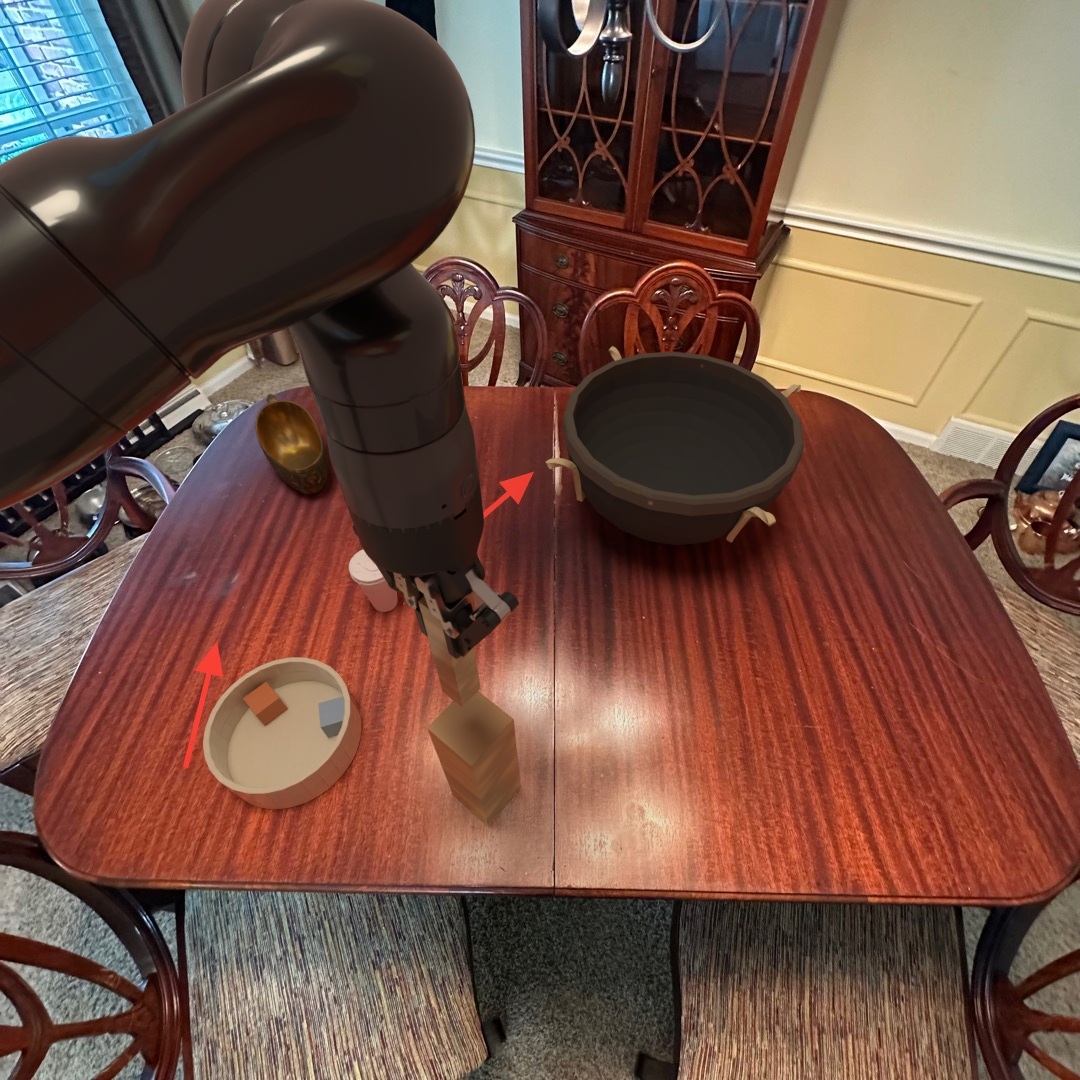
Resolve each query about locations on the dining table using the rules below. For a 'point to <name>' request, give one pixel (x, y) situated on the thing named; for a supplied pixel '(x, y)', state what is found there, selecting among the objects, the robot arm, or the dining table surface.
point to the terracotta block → (265, 703)
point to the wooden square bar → (450, 661)
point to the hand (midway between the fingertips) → (448, 637)
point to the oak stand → (478, 755)
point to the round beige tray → (281, 736)
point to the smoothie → (372, 582)
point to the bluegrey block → (332, 716)
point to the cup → (292, 444)
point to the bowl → (680, 445)
